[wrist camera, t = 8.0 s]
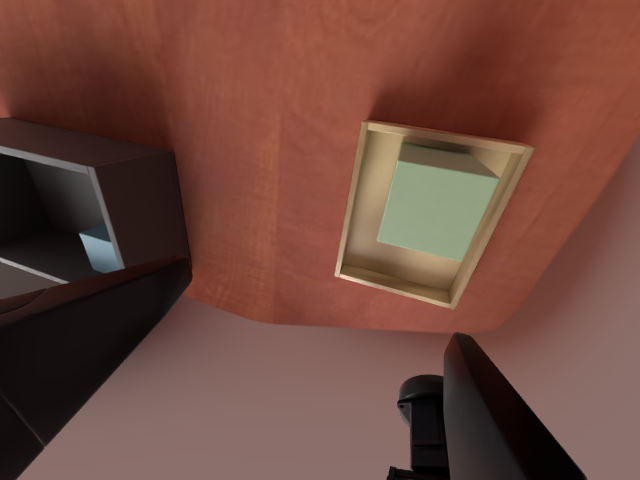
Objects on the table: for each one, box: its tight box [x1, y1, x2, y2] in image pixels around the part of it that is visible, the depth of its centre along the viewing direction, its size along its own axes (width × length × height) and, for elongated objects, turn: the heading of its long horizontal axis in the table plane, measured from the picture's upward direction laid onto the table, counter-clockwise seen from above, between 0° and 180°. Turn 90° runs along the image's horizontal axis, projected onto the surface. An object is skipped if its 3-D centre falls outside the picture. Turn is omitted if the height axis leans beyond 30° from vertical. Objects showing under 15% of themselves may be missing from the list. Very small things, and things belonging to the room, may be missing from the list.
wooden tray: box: [334, 119, 535, 309], centre depth 18 cm, size 9×11×2 cm
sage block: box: [377, 142, 500, 262], centre depth 14 cm, size 4×4×6 cm
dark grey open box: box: [0, 118, 192, 284], centre depth 24 cm, size 19×12×6 cm, turn 83°
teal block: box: [79, 223, 120, 273], centre depth 25 cm, size 4×4×6 cm
